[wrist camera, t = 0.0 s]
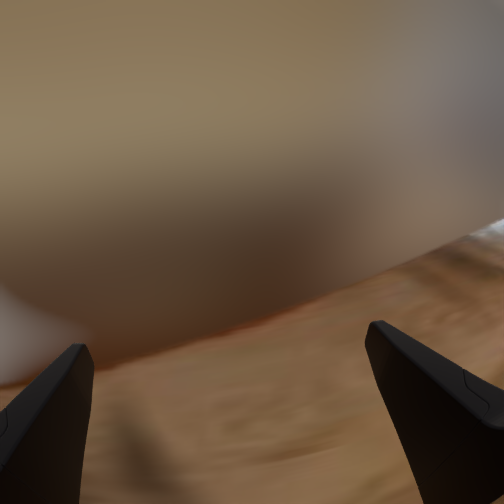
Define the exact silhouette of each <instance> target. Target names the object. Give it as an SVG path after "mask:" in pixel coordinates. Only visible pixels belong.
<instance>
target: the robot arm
mask: <svg viewBox="0 0 504 504" xmlns="http://www.w3.org/2000/svg"><path fill="white" fill-rule="evenodd" d="M365 348H366V351H367V354H368V357H369V361H370V364H371V367H372V370H373V374H374V377H375V380H376V383H377V386H378V388H379V391H380V393H381V395H382V398H383V400H384V403H385V405H386V407H387V410H388V412H389V414H390V417H391V419H392V422H393V424H394V427H395V429H396V431H397V434H398V436H399V439H400V441H401V444H402V446H403V449H404V452H405V454H406V457H407V459H408V462H409V464H410V467H411V470H412V472H413V475H414V478H415V480H416V483H417V486H419V487H418V489H419V492H420V495H421V497H422V500H423V503H424V504H504V390H502V389H500V388H498V387H496V386H494V385H492V384H490V383H488V382H486V381H484V380H482V379H481V378H479V377H477V376H475V375H474V374H472V373H470V372H469V371H467V370H465V369H462V367H460V366H459V365H457V364H455V363H454V362H452V361H450V360H449V359H447V358H445V357H444V356H442V355H440V354H439V353H437V352H435V351H434V350H432V349H430V348H429V347H427V346H425V345H424V344H422V343H420V342H419V341H417V340H415V339H414V338H412V337H410V336H408V335H407V334H405V333H403V332H402V331H400V330H398V329H397V328H395V327H393V326H392V325H390V324H388V323H387V322H385V321H383V320H378V321H373V322H371V323H370V324H369V327H368V331H367V335H366V338H365ZM93 377H94V362H93V360H92V357H91V355H90V353H89V350H88V348H87V346H86V345H85V344H84V343H74V344H72V345H71V346H70V347H69V348H67V349H66V350H65V351H64V352H63V353H62V354H61V355H60V356H59V357H58V358H56V359H55V360H54V361H53V362H52V363H51V364H50V365H49V366H48V367H47V368H46V369H45V370H44V371H42V372H41V373H40V374H39V375H38V376H37V377H36V378H35V379H34V380H33V381H32V382H31V383H30V384H29V385H28V386H27V387H26V388H25V389H24V390H23V391H22V392H20V393H19V394H18V395H17V396H16V397H15V398H14V399H13V400H12V401H11V402H10V403H9V404H8V405H7V406H6V408H4V409H3V410H2V411H1V412H0V504H79V497H80V486H81V476H82V467H83V459H84V451H85V444H86V437H87V430H88V424H89V418H90V412H91V403H92V389H93Z"/></svg>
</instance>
